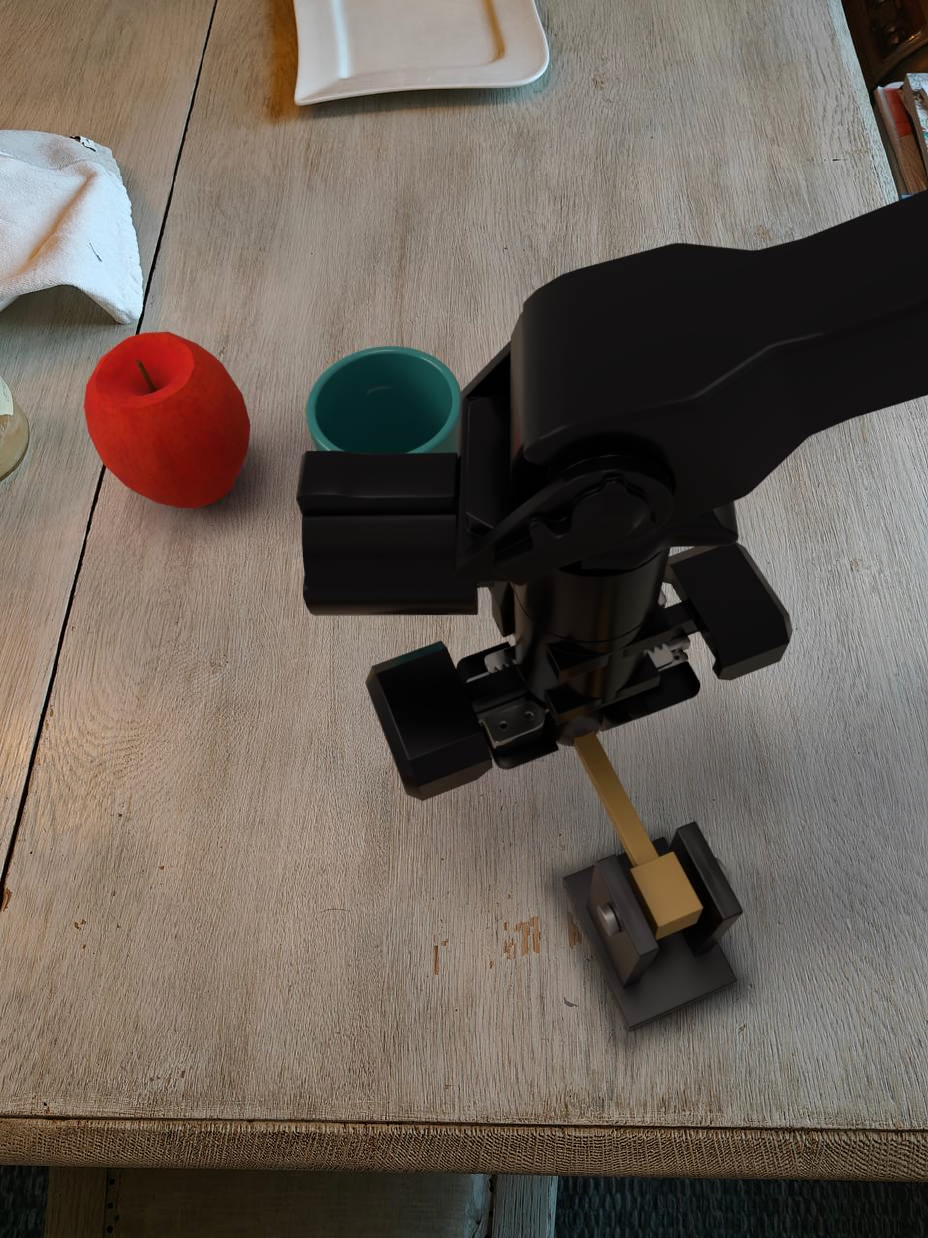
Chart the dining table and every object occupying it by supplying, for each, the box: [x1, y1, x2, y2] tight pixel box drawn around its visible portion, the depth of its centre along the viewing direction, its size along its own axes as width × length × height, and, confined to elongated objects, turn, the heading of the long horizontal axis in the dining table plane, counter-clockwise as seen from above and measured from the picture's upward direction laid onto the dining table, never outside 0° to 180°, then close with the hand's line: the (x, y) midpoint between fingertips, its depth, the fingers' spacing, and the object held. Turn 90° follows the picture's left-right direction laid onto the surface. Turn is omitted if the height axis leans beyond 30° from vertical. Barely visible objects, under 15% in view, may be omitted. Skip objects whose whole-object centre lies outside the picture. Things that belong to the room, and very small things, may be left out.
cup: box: [305, 345, 462, 454], centre depth 59 cm, size 9×12×11 cm
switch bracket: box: [562, 820, 744, 1032], centre depth 46 cm, size 8×6×10 cm
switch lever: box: [545, 707, 703, 940], centre depth 46 cm, size 13×3×3 cm, turn 21°
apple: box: [83, 331, 252, 509], centre depth 62 cm, size 10×10×12 cm
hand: (571, 734), depth 51 cm, fingers closed on switch lever, 3 cm apart
